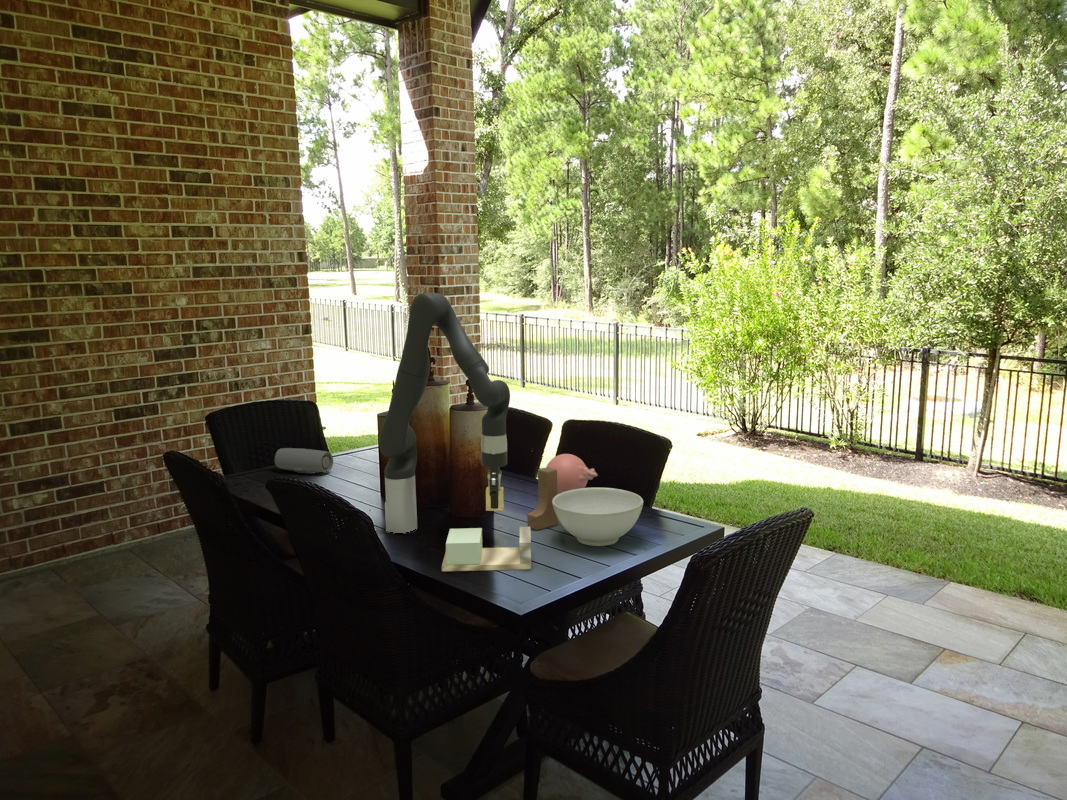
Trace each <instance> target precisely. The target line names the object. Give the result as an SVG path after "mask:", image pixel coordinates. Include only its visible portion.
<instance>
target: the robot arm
mask: <svg viewBox="0 0 1067 800" xmlns="http://www.w3.org/2000/svg"><path fill="white" fill-rule="evenodd" d="M434 325H435V326H436V327H437V328H438V329H439V330H440V331H441V332H442V333H443V335H444V336H445V338H446V339H447V340H446V341H447V342H448V344H449V347H450V350H451V354H452V356H453V359H454V361H455V362H456V364H457V366H458V367H459V369H460V370H461V371H462V373H463V374H464V376H465V377H466V378H467V380H468V382H469V385H470V388H471V390H472V393H473V394H474V397H475V399H476V400H477V401H478V403H480V404H481V405H482V406H484V407H485V408H487V411H486V413H485V414H484V415H483V416H482V418H481V441H480V446H481V447H480V448H481V449H480V450H481V451H480V452H481V454H480V455H481V457H480V459H481V465H482V466H483V467H485V468H489V470H487V481H488V482H487V483H488V486H487V487H489V488H490V493H489V495H490V496H491V509H498V496H499V488H500V487H501V483H502V481H501V479H502V470H501V469H500V468H503V467H506V466H507V465H508V439H507V422H506V421H507V415H508V412H509V408H510V407H509V406H510V401H511V394H510V393H511V392H510V388H509V386H508V384H507V383H506V382H505V381H503V380H500V379H496V380H491V379H490V377H489V376H488V373H489V371H490V368H489V365H488V364H487V362H486V360H484V358H483V356H482V355H481V354H480V352H479V351H478V349H476V347H475V345H474V344H473V342H472V341H471V339H470V338H469V336H468V335H467V332H465V329H464V328H463V326H462V324H461V323H460V320H459V318H458V317H457V315H456V312H455V310H454V309H453V306H452V305H451V303H450V302H449V299H448V298H447V297H446V296H445V295H444V294H442V293H438V292H422V293H419V294H417V295H416V296H415V297H414V298H413V300H412V302H411V305H410V308H409V315H408V324H407V329H406V331H407V332H406V336H405V340H404V341H405V342H404V344H403V348H402V352H401V353H402V354H401V359H400V361H399V364H398V365H399V366H398V368H397V371H396V372H397V373H396V377H395V381H394V386H393V390H392V393H391V398H390V401H389V402H390V403H389V407H388V411H387V415H386V417H385V420H384V422H383V425H382V427H381V430H380V434H379V437H378V446H379V447H378V448H379V450H380V452H381V453H382V454H383V455H384V456H385V457H386V458H389V459H388V461H387V464H386V466H385V467H384V485H385V486H384V489H385V502H384V514H385V516H384V517H385V518H384V519H385V532H386V533H390V532H393V533H392V534H395V533H403V534H407V533H406V532H409V533H411V532H410V531H413V530H415V529H416V530H417V529H418V516H417V513H418V512H417V495H416V494H417V491H416V472H415V471H416V467H417V462H418V461H417V460H418V459H417V457H418V455H417V453H418V451H417V449H418V447H417V445H418V444H417V435H416V432H415V430H414V429H413V427H412V426H411V425H409V424H410V421H411V417H412V415H413V413H414V411H415V410H416V408H417V406H418V404H419V403H420V401H421V399H422V397H423V395H424V393H425V390H426V388H427V387H426V386H427V383H428V381H429V380H428V379H429V375H430V372H431V362H430V355H429V346H428V345H429V340H430V337H431V332H432V329H433V326H434ZM492 490H496V492H492ZM416 530H415V531H416ZM387 531H388V532H387ZM413 532H414V531H413Z"/></svg>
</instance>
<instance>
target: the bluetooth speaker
mask: <svg viewBox="0 0 1067 800" xmlns="http://www.w3.org/2000/svg"><path fill="white" fill-rule="evenodd" d="M333 457H334V456H333V455H332V453H331V452H330V451H326V450H319V449H318V450H317V449H311V448H293V447H285V448H284V447H282V448H279V449H278V450H277V451H276V452H275V456H274V465H275V466H276V467H277V468H278V469H282V470H285V471H286V470H287V471H292V470H293V471H306V472H317V473H319V472H323V473H327V472H326V471H328V472H330V471H331V470H332V468H333V465H334V458H333ZM329 470H330V471H329ZM293 471H292V472H293Z"/></svg>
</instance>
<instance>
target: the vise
mask: <svg viewBox="0 0 1067 800" xmlns="http://www.w3.org/2000/svg"><path fill="white" fill-rule="evenodd" d="M531 535H532V534H531V528H530V527H528V526H519V546H516V547H515V546H513V547H483V549H482V555H481V562H480V564H462V565H447V560H446V551H445V553H444V557H443V559H442V564H441V572H468V571H469V572H471V571H472V572H474V571H505V570H506V571H507V570H508V571H510V570H511V571H512V570H514V571H515V570H517V571H518V570H532V545H531V544H532V541H531V539H532V538H531Z"/></svg>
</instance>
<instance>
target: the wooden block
mask: <svg viewBox="0 0 1067 800" xmlns="http://www.w3.org/2000/svg"><path fill="white" fill-rule="evenodd" d="M537 482H538V483H537V486H538V487H537V489H538V491H537V492H538V495H537V496H538V499H537V500H538V501H537V505H536V507H535V508H534V510H533V511H531V512H528V513H527V527H530V530H533V531H538V530H543V529H546V528H550V527H553V526H558V525H559V519H558V518H557V516H556V513H555V511H554V508H553V504H552V500H553V498H554V497H555V496H556V495H558V493H557V469H553V468H550V467H542V468H539V469H537Z"/></svg>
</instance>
